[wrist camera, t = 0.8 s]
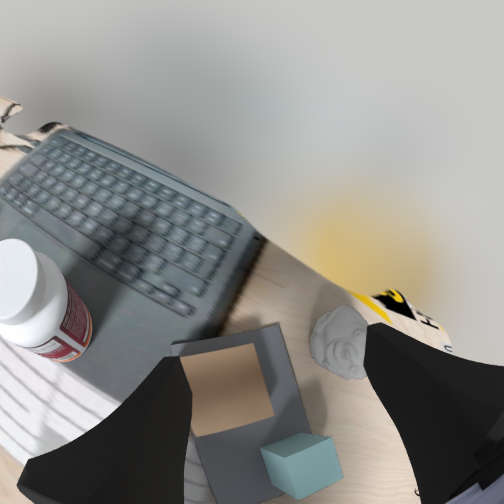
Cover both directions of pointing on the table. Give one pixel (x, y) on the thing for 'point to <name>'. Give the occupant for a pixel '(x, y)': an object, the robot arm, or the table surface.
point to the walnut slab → (226, 389)
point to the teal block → (302, 464)
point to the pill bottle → (40, 305)
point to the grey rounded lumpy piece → (340, 342)
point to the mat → (254, 434)
